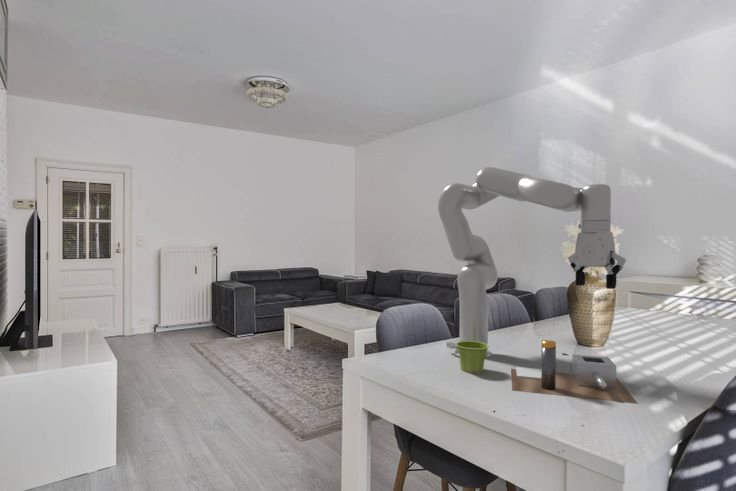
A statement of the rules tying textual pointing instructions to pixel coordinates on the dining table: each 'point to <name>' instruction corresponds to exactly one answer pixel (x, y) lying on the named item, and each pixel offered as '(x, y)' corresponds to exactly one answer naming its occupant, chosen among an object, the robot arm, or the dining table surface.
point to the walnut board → (572, 388)
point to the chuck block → (594, 371)
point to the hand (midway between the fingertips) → (595, 286)
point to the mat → (528, 373)
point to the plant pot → (472, 355)
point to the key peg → (548, 365)
